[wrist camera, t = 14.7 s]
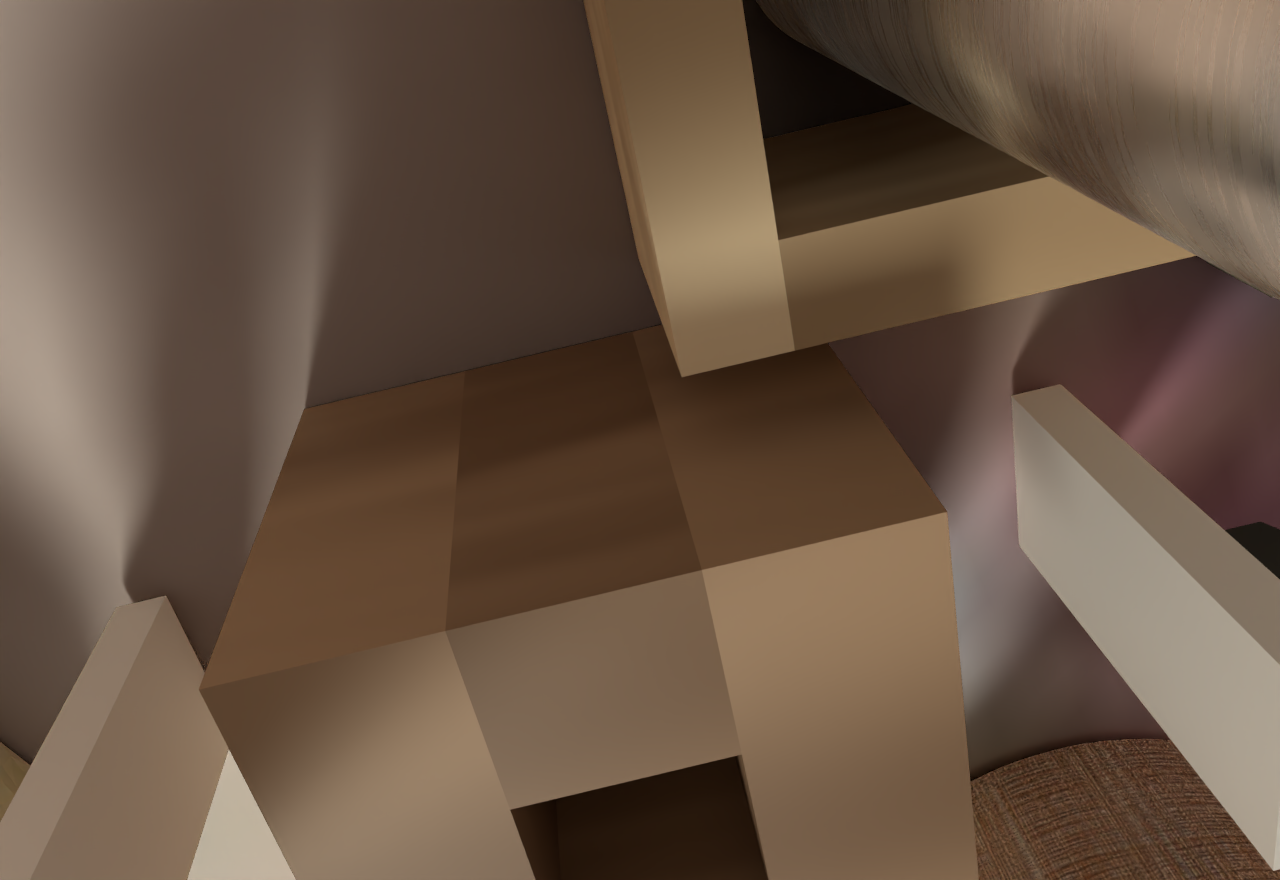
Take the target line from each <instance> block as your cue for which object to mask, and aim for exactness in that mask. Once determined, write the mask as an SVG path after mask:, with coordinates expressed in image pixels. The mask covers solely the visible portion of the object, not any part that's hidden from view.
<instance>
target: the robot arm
mask: <svg viewBox="0 0 1280 880" xmlns="http://www.w3.org/2000/svg"><path fill="white" fill-rule="evenodd" d="M1011 402H1012V421H1013V440H1014V459H1015V478H1016V497H1017V516H1018V535H1019V546H1020V548H1021V549H1022V550H1023V551H1024V553H1025V554H1026V555H1027V556H1028V558H1029V559H1030V560H1031V562H1032V563H1033V564H1034V565H1035V567H1036V568H1037V569H1038V571H1039V572H1040V573H1041V574H1042V576H1043V577H1044V578H1045V579H1046V581H1047V582H1048V583H1049V585H1050V586H1051V587H1052V588H1053V590H1054V591H1055V592H1056V594H1057V595H1058V596H1059V597H1060V599H1061V600H1062V601H1063V602H1064V604H1065V605H1066V606H1067V608H1068V609H1069V610H1070V611H1071V613H1072V614H1073V615H1074V617H1075V618H1076V619H1077V620H1078V622H1079V623H1080V624H1081V626H1082V627H1083V628H1084V629H1085V631H1086V632H1087V633H1088V634H1089V636H1090V637H1091V638H1092V640H1093V641H1094V642H1095V643H1096V645H1097V646H1098V647H1099V649H1100V650H1101V651H1102V652H1103V654H1104V655H1105V656H1106V657H1107V659H1108V660H1109V661H1110V663H1111V664H1112V665H1113V666H1114V668H1115V669H1116V670H1117V672H1118V673H1119V674H1120V675H1121V677H1122V678H1123V679H1124V681H1125V682H1126V683H1127V684H1128V686H1129V687H1130V688H1131V689H1132V691H1133V692H1134V693H1135V695H1136V696H1137V697H1138V698H1139V700H1140V701H1141V702H1142V704H1143V705H1144V706H1145V707H1146V709H1147V710H1148V711H1149V712H1150V714H1151V715H1152V716H1153V718H1154V719H1155V720H1156V721H1157V723H1158V724H1159V725H1160V727H1161V728H1162V729H1163V730H1164V732H1165V733H1166V734H1167V735H1168V737H1169V738H1170V739H1171V741H1172V742H1173V743H1174V744H1175V746H1176V747H1177V748H1178V750H1179V751H1180V752H1181V753H1182V755H1183V756H1184V757H1185V759H1186V760H1187V761H1188V762H1189V764H1190V765H1191V766H1192V767H1193V769H1194V770H1195V771H1196V773H1197V774H1198V775H1199V776H1200V778H1201V779H1202V780H1203V782H1204V783H1205V784H1206V785H1207V787H1208V788H1209V789H1210V790H1211V792H1212V793H1213V794H1214V796H1215V797H1216V798H1217V799H1218V801H1219V802H1220V803H1221V805H1222V806H1223V807H1224V808H1225V810H1226V811H1227V812H1228V813H1229V815H1230V816H1231V817H1232V819H1233V820H1234V821H1235V822H1236V824H1237V825H1238V826H1239V828H1240V829H1241V830H1242V831H1243V833H1244V834H1245V835H1246V837H1247V838H1248V839H1249V840H1250V842H1251V843H1252V844H1253V845H1254V847H1255V848H1256V849H1257V851H1258V852H1259V853H1260V854H1261V856H1262V857H1263V858H1264V860H1265V861H1266V862H1267V863H1268V865H1269V866H1270V867H1271V868H1272V870H1273V871H1275V870H1279V869H1280V530H1279V529H1277V528H1275V527H1272V526H1270V525H1267V524H1265V523H1263V522H1257V523H1253V524H1249V525H1244V526H1240V527H1236V528H1232V529H1227V530H1224V529H1222V528H1221V527H1220V526H1219V525H1218V524H1217V523H1216V522H1215V521H1214V520H1212V519H1211V518H1210V517H1209V516H1208V515H1207V514H1206V513H1205V512H1203V511H1202V510H1201V509H1200V508H1199V507H1198V506H1197V505H1196V504H1194V503H1193V502H1192V501H1191V500H1190V499H1189V498H1188V497H1187V496H1185V495H1184V494H1183V493H1182V492H1181V491H1180V490H1179V489H1178V488H1177V487H1175V486H1174V485H1173V484H1172V483H1171V482H1170V481H1169V480H1168V479H1166V478H1165V477H1164V476H1163V475H1162V474H1161V473H1160V472H1159V471H1157V470H1156V469H1155V468H1154V467H1153V466H1152V465H1151V464H1150V463H1148V462H1147V461H1146V460H1145V459H1144V458H1143V457H1142V456H1141V455H1140V454H1138V453H1137V452H1136V451H1135V450H1134V449H1133V448H1132V447H1131V446H1129V445H1128V444H1127V443H1126V442H1125V441H1124V440H1123V439H1122V438H1120V437H1119V436H1118V435H1117V434H1116V433H1115V432H1114V431H1113V430H1111V429H1110V428H1109V427H1108V426H1107V425H1106V424H1105V423H1104V422H1103V421H1101V420H1100V419H1099V418H1098V417H1097V416H1096V415H1095V414H1094V413H1092V412H1091V411H1090V410H1089V409H1088V408H1087V407H1086V406H1085V405H1083V404H1082V403H1081V402H1080V401H1079V400H1078V399H1077V398H1076V397H1074V396H1073V395H1072V394H1071V393H1070V392H1069V391H1068V390H1067V389H1066V388H1064V387H1063V386H1062V385H1061V384H1059V385H1054V386H1050V387H1046V388H1042V389H1037V390H1033V391H1029V392H1025V393H1020V394H1016V395H1012V396H1011ZM204 674H205V672H204V670H203V668H202V666H201V664H200V662H199V660H198V658H197V656H196V654H195V652H194V650H193V648H192V646H191V644H190V642H189V640H188V638H187V636H186V634H185V632H184V630H183V628H182V626H181V624H180V622H179V620H178V618H177V616H176V614H175V612H174V610H173V608H172V606H171V604H170V602H169V600H168V598H167V596H162V597H157V598H153V599H149V600H145V601H141V602H136V603H132V604H128V605H124V606H119V607H116V609H115V611H114V612H113V614H112V616H111V618H110V620H109V622H108V624H107V625H106V627H105V629H104V631H103V633H102V635H101V636H100V638H99V640H98V642H97V644H96V646H95V648H94V649H93V651H92V653H91V655H90V657H89V659H88V661H87V662H86V664H85V666H84V668H83V670H82V672H81V674H80V675H79V677H78V679H77V681H76V683H75V685H74V686H73V688H72V690H71V692H70V694H69V696H68V698H67V699H66V701H65V703H64V705H63V707H62V709H61V711H60V712H59V714H58V716H57V718H56V720H55V722H54V724H53V725H52V727H51V729H50V731H49V733H48V735H47V736H46V738H45V740H44V742H43V744H42V746H41V748H40V749H39V751H38V753H37V755H36V757H35V759H34V761H33V762H32V764H31V766H30V768H29V770H28V772H27V774H26V775H25V777H24V779H23V781H22V783H21V785H20V786H19V788H18V790H17V792H16V794H15V796H14V798H13V799H12V801H11V803H10V805H9V807H8V809H7V811H6V812H5V814H4V816H3V818H2V820H1V822H0V880H187V878H188V875H189V872H190V869H191V865H192V862H193V859H194V856H195V853H196V850H197V847H198V844H199V840H200V837H201V834H202V831H203V828H204V825H205V822H206V819H207V815H208V812H209V809H210V806H211V803H212V800H213V797H214V794H215V790H216V787H217V784H218V781H219V778H220V775H221V772H222V769H223V765H224V762H225V759H226V756H227V753H228V750H229V748H228V746H227V744H226V742H225V740H224V738H223V736H222V734H221V732H220V730H219V728H218V726H217V725H216V723H215V721H214V719H213V717H212V715H211V713H210V711H209V709H208V707H207V705H206V703H205V701H204V699H203V697H202V695H201V693H200V691H199V687H200V685H201V682H202V679H203V677H204Z"/></svg>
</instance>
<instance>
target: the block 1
mask: <svg viewBox="0 0 1280 880" xmlns="http://www.w3.org/2000/svg"><path fill="white" fill-rule="evenodd" d="M583 2H584V7H585V12H586V16H587V21H588V26H589V30H590V35H591V39H592V44H593V49H594V53H595V58H596V63H597V67H598V72H599V77H600V81H601V86H602V91H603V95H604V100H605V105H606V109H607V114H608V118H609V123H610V128H611V132H612V137H613V142H614V146H615V151H616V156H617V160H618V165H619V170H620V174H621V179H622V184H623V188H624V193H625V197H626V202H627V207H628V211H629V216H630V221H631V225H632V230H633V235H634V239H635V244H636V249H637V253H638V258H639V261H640V264H641V267H642V269H643V272H644V275H645V278H646V280H647V283H648V286H649V289H650V291H651V294H652V297H653V300H654V302H655V305H656V308H657V311H658V313H659V316H660V319H661V322H662V324H663V327H664V330H665V333H666V335H667V338H668V341H669V344H670V346H671V349H672V352H673V355H674V357H675V360H676V363H677V366H678V368H679V371H680V374H681V377H685V376H689V375H694V374H698V373H702V372H706V371H711V370H715V369H719V368H723V367H727V366H732V365H736V364H740V363H744V362H749V361H753V360H757V359H761V358H766V357H770V356H774V355H778V354H782V353H787V352H791V351H795V350H799V349H804V348H808V347H812V346H816V345H821V344H825V343H829V342H833V341H837V340H842V339H846V338H850V337H854V336H859V335H863V334H867V333H871V332H876V331H880V330H884V329H888V328H892V327H897V326H901V325H905V324H909V323H914V322H918V321H922V320H926V319H931V318H935V317H939V316H943V315H947V314H952V313H956V312H960V311H964V310H969V309H973V308H977V307H981V306H986V305H990V304H994V303H998V302H1002V301H1007V300H1011V299H1015V298H1019V297H1024V296H1028V295H1032V294H1036V293H1041V292H1045V291H1049V290H1053V289H1057V288H1062V287H1066V286H1070V285H1074V284H1079V283H1083V282H1087V281H1091V280H1096V279H1100V278H1104V277H1108V276H1112V275H1117V274H1121V273H1125V272H1129V271H1134V270H1138V269H1142V268H1146V267H1151V266H1155V265H1159V264H1163V263H1167V262H1172V261H1176V260H1180V259H1184V258H1189V257H1193V256H1196V255H1194V254H1193V253H1191V252H1189V251H1187V250H1185V249H1183V248H1181V247H1180V246H1178V245H1176V244H1174V243H1172V242H1170V241H1168V240H1167V239H1165V238H1163V237H1161V236H1159V235H1157V234H1155V233H1154V232H1152V231H1150V230H1148V229H1146V228H1144V227H1142V226H1140V225H1139V224H1137V223H1135V222H1133V221H1131V220H1129V219H1127V218H1126V217H1124V216H1122V215H1120V214H1118V213H1116V212H1114V211H1113V210H1111V209H1109V208H1107V207H1105V206H1103V205H1101V204H1100V203H1098V202H1096V201H1094V200H1092V199H1090V198H1088V197H1086V196H1085V195H1083V194H1081V193H1079V192H1077V191H1075V190H1073V189H1072V188H1070V187H1068V186H1066V185H1064V184H1062V183H1060V182H1059V181H1057V180H1055V179H1053V178H1051V177H1049V176H1047V175H1046V174H1044V173H1042V172H1040V171H1038V170H1036V169H1034V168H1032V167H1031V166H1029V165H1027V164H1025V163H1023V162H1021V161H1019V160H1018V159H1016V158H1014V157H1012V156H1010V155H1008V154H1006V153H1005V152H1003V151H1001V150H999V149H997V148H995V147H993V146H992V145H990V144H988V143H986V142H984V141H982V140H980V139H978V138H977V137H975V136H973V135H971V134H969V133H967V132H965V131H964V130H962V129H960V128H958V127H956V126H954V125H952V124H951V123H949V122H947V121H945V120H943V119H941V118H939V117H938V116H936V115H934V114H932V113H930V112H928V111H926V110H924V109H923V108H921V107H919V106H917V105H915V104H911V105H907V106H902V107H898V108H894V109H890V110H885V111H881V112H877V113H873V114H868V115H864V116H860V117H856V118H851V119H847V120H843V121H839V122H834V123H830V124H826V125H822V126H817V127H813V128H809V129H805V130H800V131H796V132H792V133H788V134H783V135H779V136H775V137H771V138H766V139H763V136H762V129H761V123H760V116H759V109H758V103H757V96H756V89H755V83H754V76H753V70H752V63H751V56H750V50H749V43H748V36H747V30H746V23H745V17H744V10H743V3H742V0H583Z"/></svg>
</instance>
